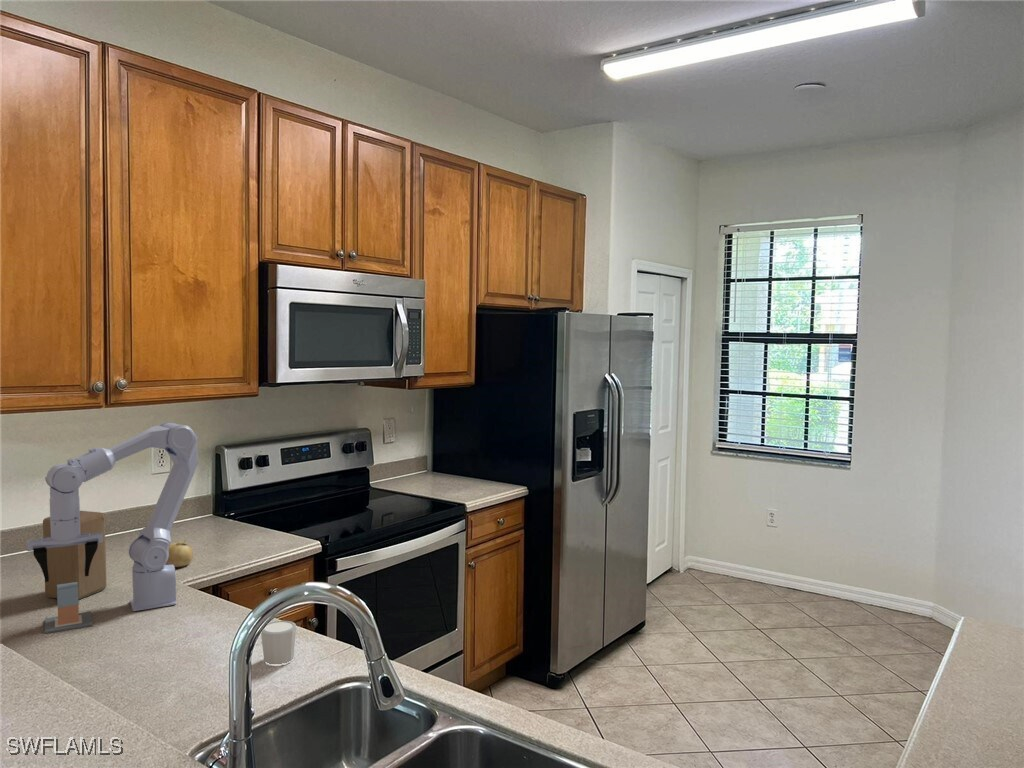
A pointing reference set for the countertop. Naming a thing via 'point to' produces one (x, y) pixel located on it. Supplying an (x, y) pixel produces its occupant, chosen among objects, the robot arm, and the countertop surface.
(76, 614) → the terracotta brick
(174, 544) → the onion
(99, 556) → the wooden block
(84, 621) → the mat
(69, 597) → the blue brick
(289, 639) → the white tapered cup
